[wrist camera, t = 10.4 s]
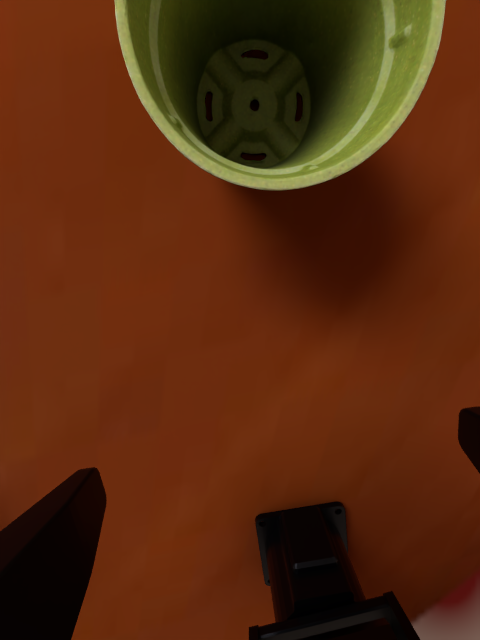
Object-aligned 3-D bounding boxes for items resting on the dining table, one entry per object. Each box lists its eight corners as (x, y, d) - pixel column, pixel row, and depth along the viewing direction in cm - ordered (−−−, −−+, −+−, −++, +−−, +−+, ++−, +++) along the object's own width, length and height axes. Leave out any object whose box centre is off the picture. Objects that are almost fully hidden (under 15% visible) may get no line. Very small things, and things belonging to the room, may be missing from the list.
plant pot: (337, 202, 19) (427, 185, 11) (171, 207, 19) (134, 193, 11) (346, 2, 17) (470, -213, 9) (154, 3, 16) (88, -225, 8)
